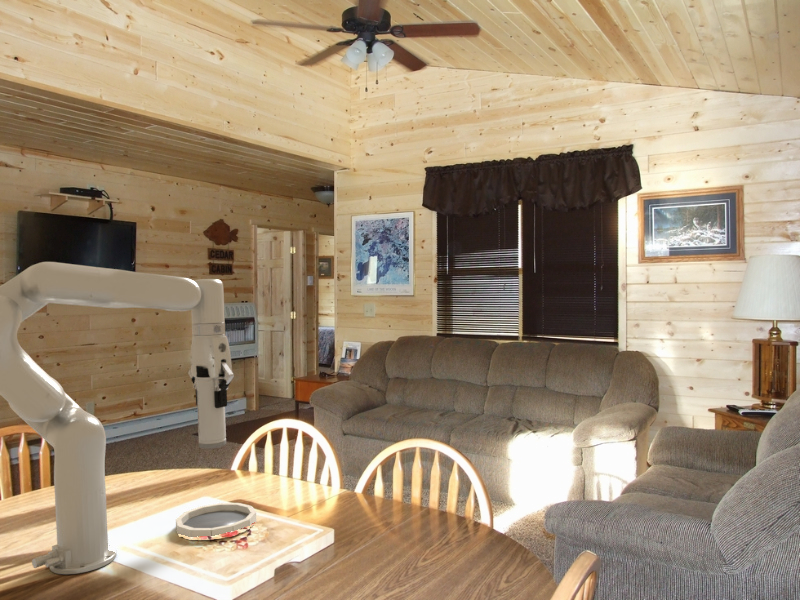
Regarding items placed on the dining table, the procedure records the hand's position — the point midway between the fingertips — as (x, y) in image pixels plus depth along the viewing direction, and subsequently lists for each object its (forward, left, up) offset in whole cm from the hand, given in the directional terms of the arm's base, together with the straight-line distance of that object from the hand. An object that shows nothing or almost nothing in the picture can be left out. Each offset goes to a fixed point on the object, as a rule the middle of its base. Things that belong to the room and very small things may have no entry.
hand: (211, 405), depth 151 cm
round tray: (0, 0, -29) cm, 29 cm away
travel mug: (0, 0, -10) cm, 10 cm away
